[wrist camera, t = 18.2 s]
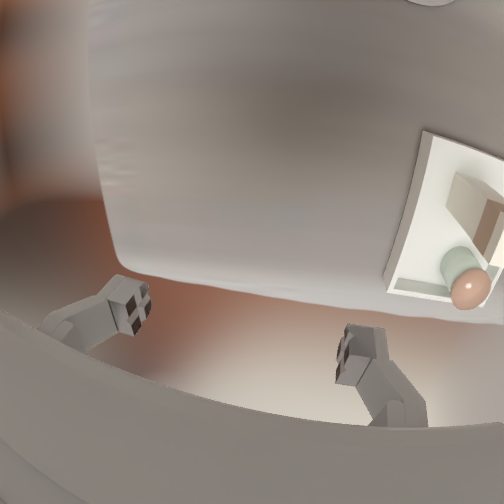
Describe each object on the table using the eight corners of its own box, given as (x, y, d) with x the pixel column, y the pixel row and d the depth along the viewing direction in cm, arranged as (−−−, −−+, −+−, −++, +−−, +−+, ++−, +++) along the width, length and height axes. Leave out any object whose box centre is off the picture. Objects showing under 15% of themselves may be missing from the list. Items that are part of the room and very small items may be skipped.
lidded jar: (447, 241, 36) (463, 268, 30) (480, 249, 35) (498, 275, 29) (432, 277, 39) (444, 307, 33) (464, 283, 38) (478, 312, 32)
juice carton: (454, 171, 31) (507, 217, 19) (484, 181, 30) (539, 229, 18) (444, 207, 33) (488, 265, 22) (473, 214, 32) (520, 272, 21)
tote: (422, 130, 30) (433, 135, 27) (522, 168, 27) (537, 177, 24) (383, 275, 42) (386, 292, 39) (474, 291, 39) (482, 307, 36)
